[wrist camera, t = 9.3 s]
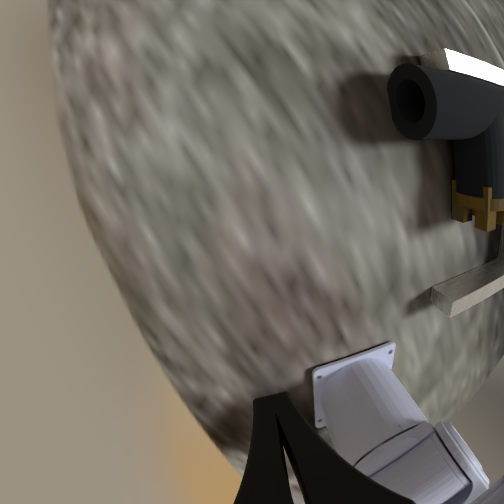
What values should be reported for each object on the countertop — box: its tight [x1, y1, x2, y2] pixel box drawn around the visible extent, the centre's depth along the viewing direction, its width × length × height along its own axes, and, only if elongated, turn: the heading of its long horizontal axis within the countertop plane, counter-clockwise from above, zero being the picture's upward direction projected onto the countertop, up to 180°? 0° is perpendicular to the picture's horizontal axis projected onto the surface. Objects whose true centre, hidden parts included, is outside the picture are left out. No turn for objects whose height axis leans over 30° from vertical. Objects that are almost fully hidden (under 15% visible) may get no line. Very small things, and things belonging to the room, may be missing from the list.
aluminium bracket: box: [419, 49, 504, 318], centre depth 17 cm, size 21×13×3 cm, turn 10°
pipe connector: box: [387, 63, 504, 232], centre depth 15 cm, size 12×5×15 cm
